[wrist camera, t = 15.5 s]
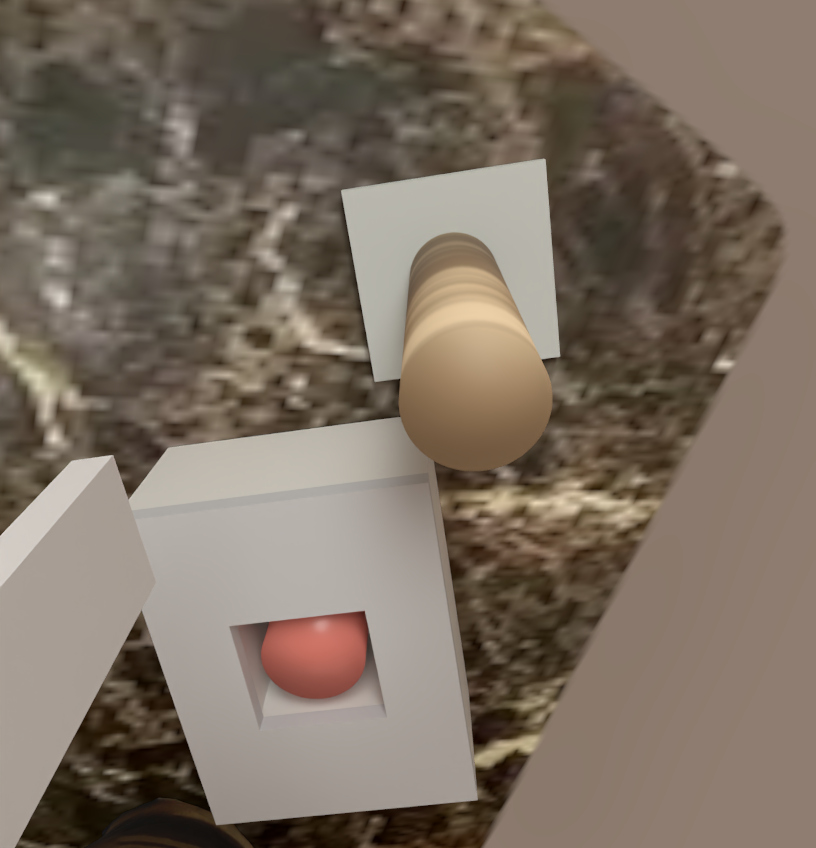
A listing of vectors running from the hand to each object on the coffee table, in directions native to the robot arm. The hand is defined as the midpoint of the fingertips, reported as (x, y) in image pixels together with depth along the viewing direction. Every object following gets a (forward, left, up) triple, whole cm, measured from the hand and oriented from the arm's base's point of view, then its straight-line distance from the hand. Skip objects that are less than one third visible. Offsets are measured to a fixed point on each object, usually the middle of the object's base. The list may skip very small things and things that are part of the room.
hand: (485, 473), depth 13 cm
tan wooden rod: (0, 0, -18) cm, 18 cm away
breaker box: (+14, -8, -19) cm, 25 cm away
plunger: (+14, -8, -18) cm, 24 cm away
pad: (0, 0, -19) cm, 19 cm away
